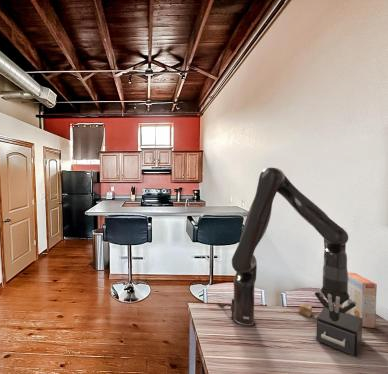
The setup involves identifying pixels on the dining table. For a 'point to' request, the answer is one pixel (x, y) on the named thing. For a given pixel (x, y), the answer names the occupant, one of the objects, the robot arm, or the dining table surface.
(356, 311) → the cracker box
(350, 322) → the dark grey box
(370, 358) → the dining table surface
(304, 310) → the block
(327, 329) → the drawer
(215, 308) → the dining table surface
